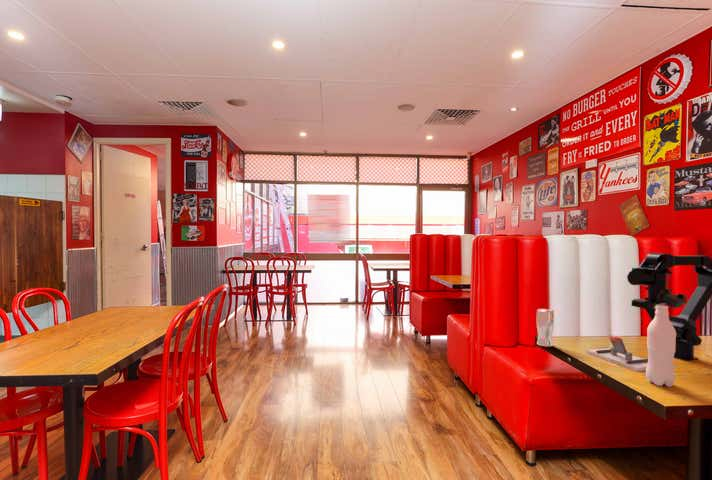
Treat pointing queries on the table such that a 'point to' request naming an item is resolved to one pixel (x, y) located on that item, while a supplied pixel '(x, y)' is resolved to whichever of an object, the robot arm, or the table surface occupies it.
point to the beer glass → (545, 327)
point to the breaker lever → (618, 344)
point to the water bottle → (661, 349)
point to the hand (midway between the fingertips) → (656, 325)
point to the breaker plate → (620, 358)
